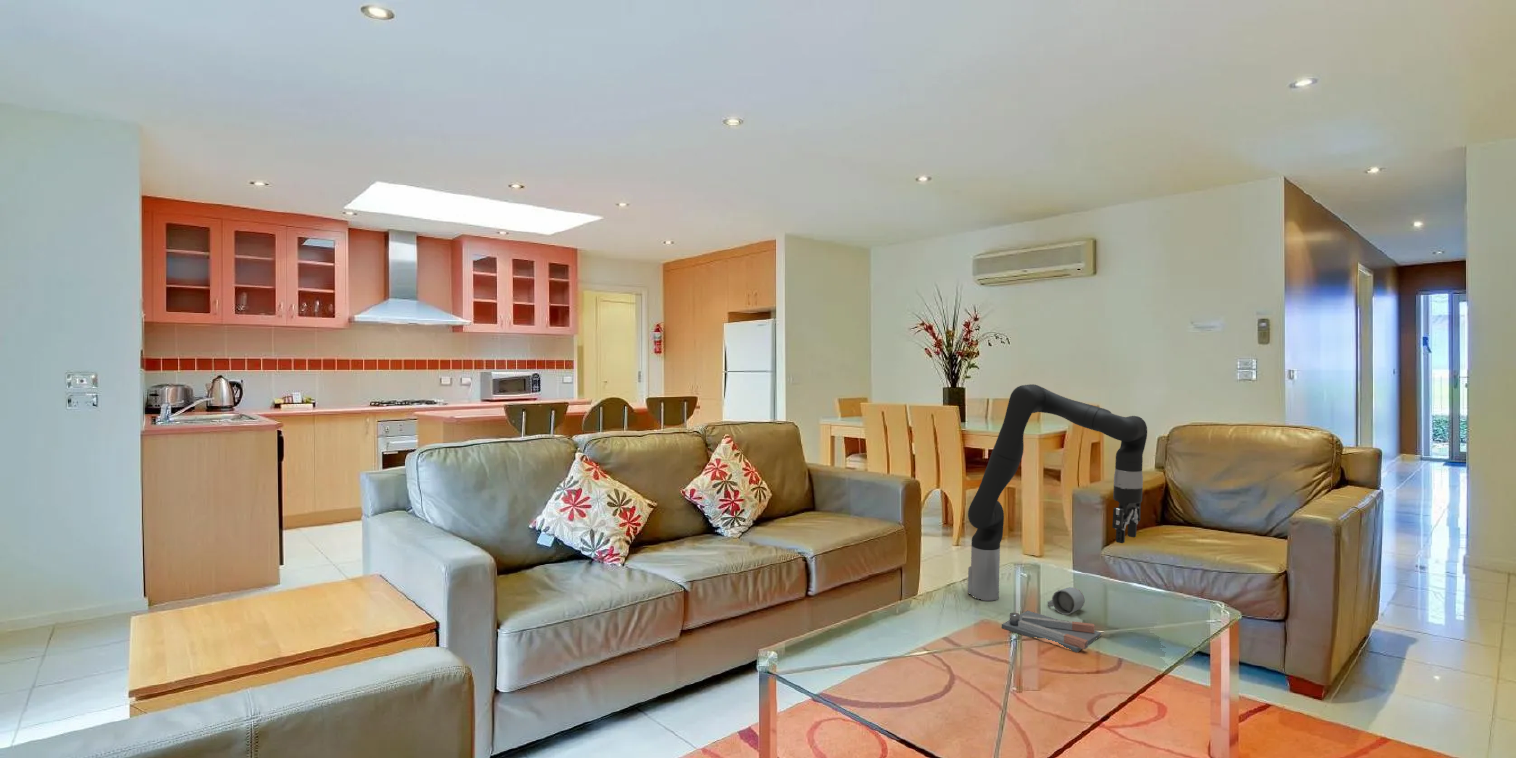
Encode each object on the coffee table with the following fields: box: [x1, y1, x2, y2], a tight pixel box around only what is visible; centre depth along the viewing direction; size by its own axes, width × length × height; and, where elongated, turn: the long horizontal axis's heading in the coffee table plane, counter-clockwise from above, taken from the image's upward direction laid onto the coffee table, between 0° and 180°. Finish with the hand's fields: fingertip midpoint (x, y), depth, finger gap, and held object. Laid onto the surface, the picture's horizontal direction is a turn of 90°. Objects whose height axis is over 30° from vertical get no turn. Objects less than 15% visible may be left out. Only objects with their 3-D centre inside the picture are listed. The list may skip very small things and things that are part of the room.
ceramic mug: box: [1047, 586, 1086, 616], centre depth 239 cm, size 11×8×8 cm
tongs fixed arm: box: [1009, 612, 1089, 650], centre depth 217 cm, size 24×3×3 cm, turn 43°
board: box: [1001, 610, 1102, 653], centre depth 222 cm, size 23×16×1 cm
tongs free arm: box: [1022, 616, 1095, 633], centre depth 222 cm, size 20×2×2 cm, turn 71°
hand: (1126, 539), depth 216 cm, fingers open, 8 cm apart
